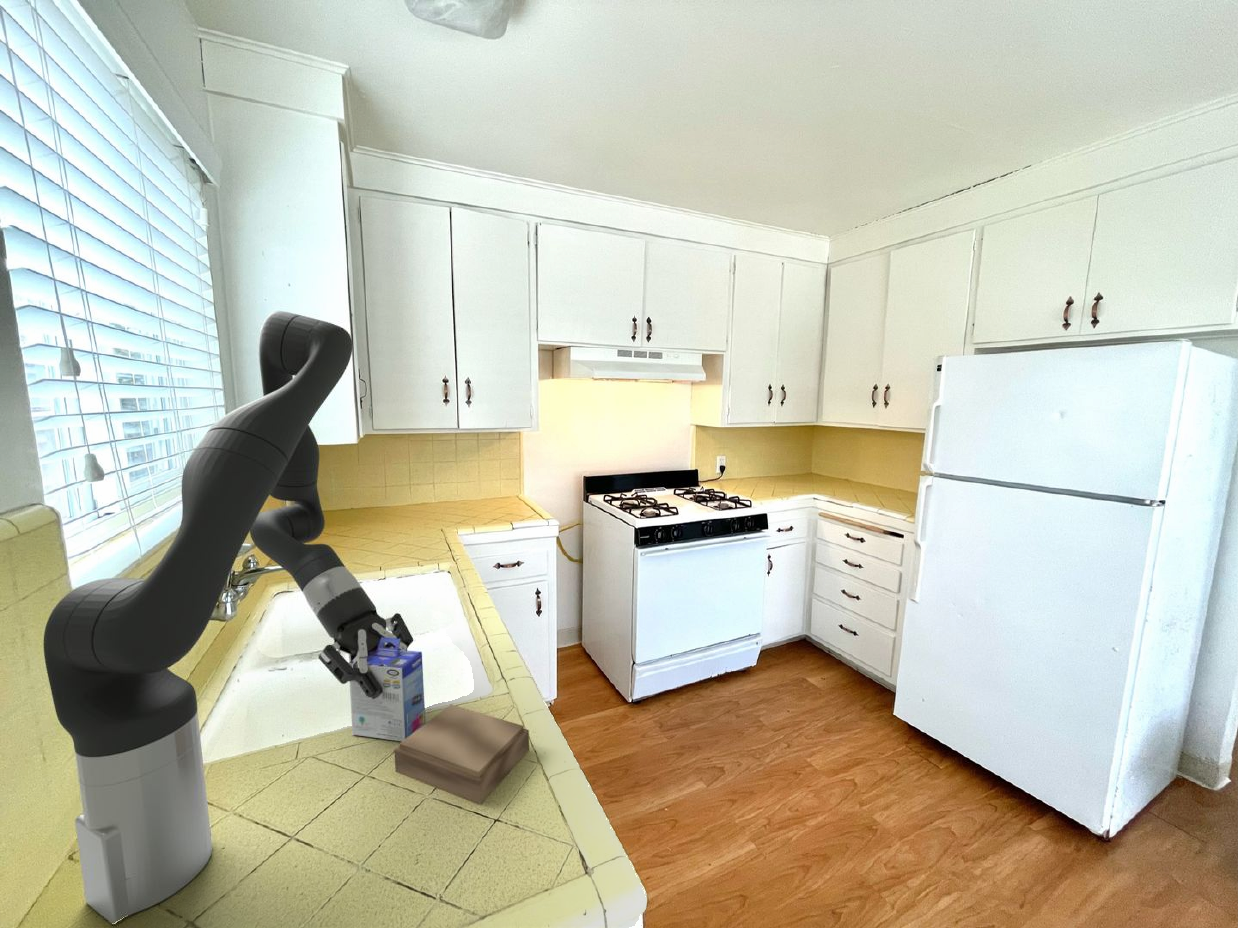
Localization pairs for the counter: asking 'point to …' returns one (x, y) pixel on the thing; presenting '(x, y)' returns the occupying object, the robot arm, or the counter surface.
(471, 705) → the counter surface
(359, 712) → the ink cartridge box
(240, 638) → the counter surface
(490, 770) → the walnut stand
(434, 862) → the counter surface
